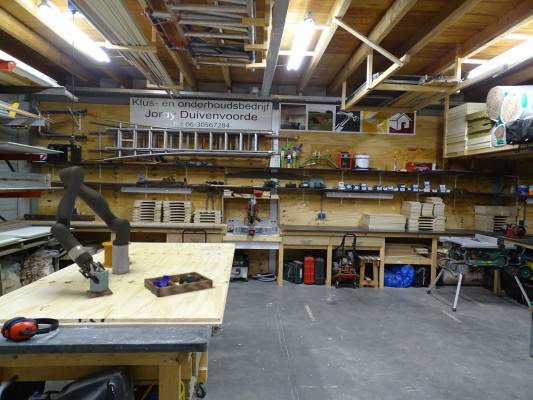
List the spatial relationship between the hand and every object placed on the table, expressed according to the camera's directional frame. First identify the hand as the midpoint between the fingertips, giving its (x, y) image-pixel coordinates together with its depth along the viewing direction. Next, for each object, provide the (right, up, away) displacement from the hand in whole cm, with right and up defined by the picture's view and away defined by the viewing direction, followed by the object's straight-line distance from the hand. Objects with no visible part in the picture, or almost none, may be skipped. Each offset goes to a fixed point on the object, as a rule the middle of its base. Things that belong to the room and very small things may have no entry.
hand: (102, 281), depth 169 cm
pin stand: (-2, -6, 0) cm, 7 cm away
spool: (-20, -4, +63) cm, 66 cm away
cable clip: (+26, -7, +9) cm, 28 cm away
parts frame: (+33, -7, +14) cm, 37 cm away
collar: (-2, -4, 0) cm, 5 cm away
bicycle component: (+40, -7, +19) cm, 45 cm away
